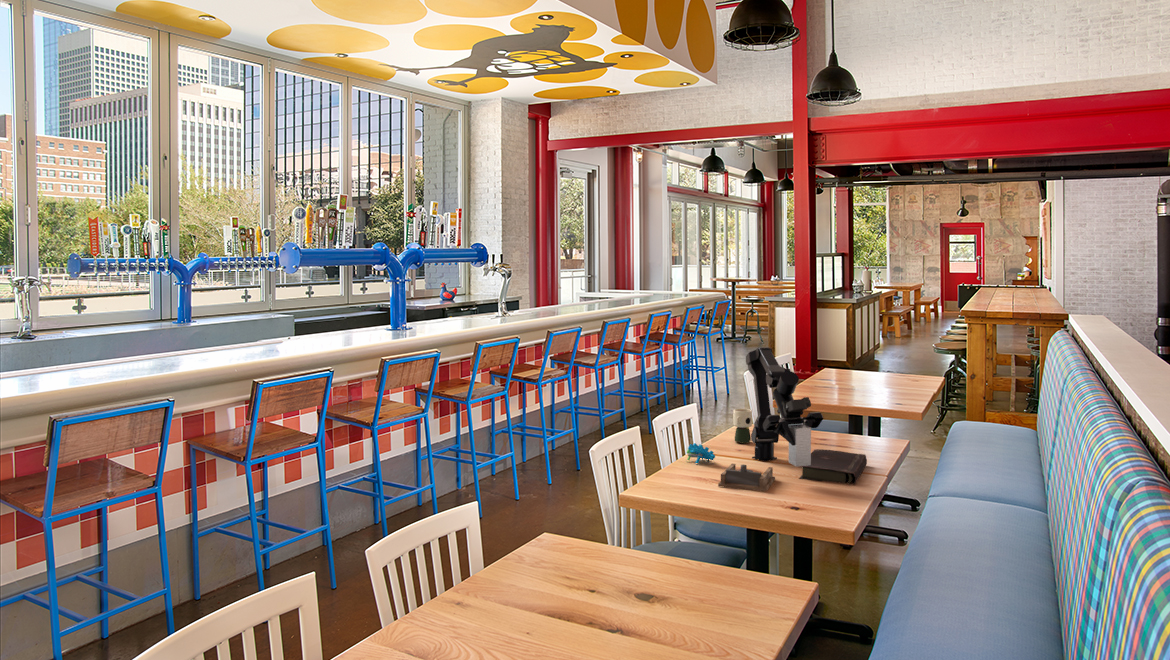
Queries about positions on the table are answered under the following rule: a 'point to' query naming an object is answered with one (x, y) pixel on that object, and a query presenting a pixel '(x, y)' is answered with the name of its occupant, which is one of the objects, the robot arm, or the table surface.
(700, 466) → the table surface
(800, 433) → the steel link block
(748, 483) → the keeper cradle
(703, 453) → the blue spiky toy dinosaur
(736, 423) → the character mug
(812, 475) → the diary
